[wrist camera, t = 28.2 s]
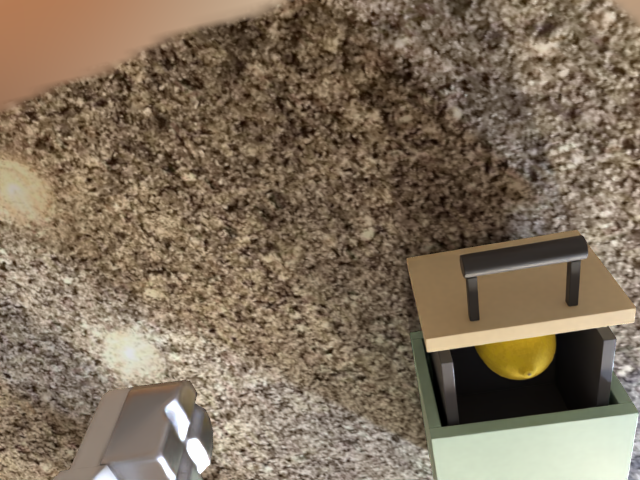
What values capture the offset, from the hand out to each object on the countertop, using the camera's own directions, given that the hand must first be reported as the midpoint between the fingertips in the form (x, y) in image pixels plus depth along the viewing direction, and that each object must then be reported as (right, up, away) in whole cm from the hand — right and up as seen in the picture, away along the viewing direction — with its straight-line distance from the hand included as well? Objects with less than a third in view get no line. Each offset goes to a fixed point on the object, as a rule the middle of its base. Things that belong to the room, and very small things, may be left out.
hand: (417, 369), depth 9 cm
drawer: (+12, -2, +34) cm, 36 cm away
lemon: (+12, -2, +32) cm, 34 cm away
